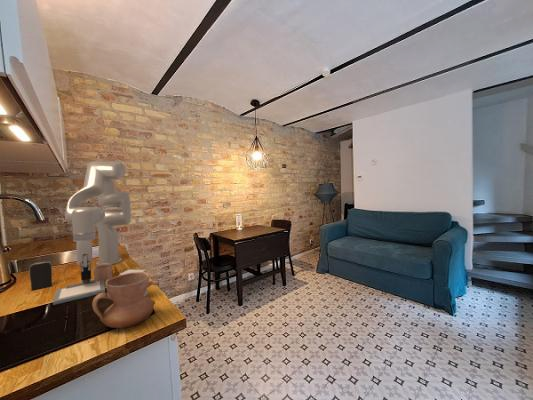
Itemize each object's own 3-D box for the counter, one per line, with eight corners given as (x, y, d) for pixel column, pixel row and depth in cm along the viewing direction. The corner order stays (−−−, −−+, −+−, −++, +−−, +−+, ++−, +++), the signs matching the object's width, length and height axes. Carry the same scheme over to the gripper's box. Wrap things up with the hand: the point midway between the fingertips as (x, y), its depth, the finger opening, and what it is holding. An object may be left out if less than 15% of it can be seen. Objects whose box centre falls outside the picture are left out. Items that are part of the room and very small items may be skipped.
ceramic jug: (153, 303, 85) (152, 266, 84) (162, 320, 73) (160, 278, 73) (94, 320, 74) (92, 278, 74) (93, 344, 63) (90, 294, 62)
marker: (81, 282, 98) (80, 260, 98) (91, 280, 101) (90, 258, 100) (81, 285, 96) (80, 262, 95) (91, 283, 98) (90, 260, 97)
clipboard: (57, 291, 96) (57, 287, 96) (103, 281, 105) (103, 278, 105) (53, 305, 85) (52, 300, 84) (105, 292, 94) (104, 288, 94)
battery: (53, 283, 104) (51, 259, 104) (52, 286, 101) (51, 261, 101) (31, 288, 100) (29, 263, 99) (30, 291, 97) (28, 265, 96)
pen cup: (94, 278, 110) (93, 266, 110) (111, 274, 114) (110, 263, 114) (94, 282, 104) (93, 270, 104) (112, 279, 109) (111, 266, 108)
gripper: (74, 235, 102) (76, 274, 102) (71, 241, 89) (74, 286, 89) (95, 233, 106) (96, 271, 107) (95, 238, 93) (97, 281, 94)
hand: (86, 277), depth 98 cm, fingers closed on marker, 3 cm apart
